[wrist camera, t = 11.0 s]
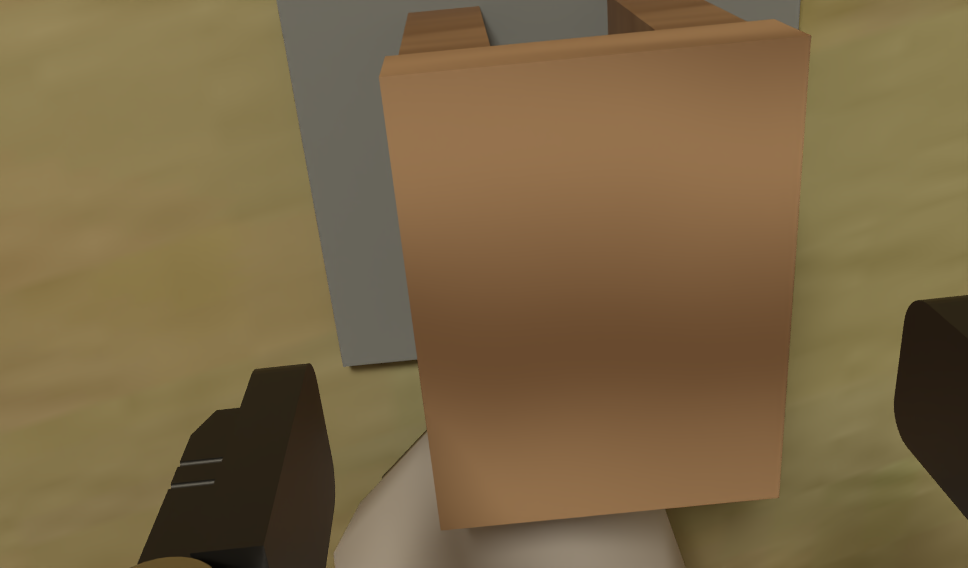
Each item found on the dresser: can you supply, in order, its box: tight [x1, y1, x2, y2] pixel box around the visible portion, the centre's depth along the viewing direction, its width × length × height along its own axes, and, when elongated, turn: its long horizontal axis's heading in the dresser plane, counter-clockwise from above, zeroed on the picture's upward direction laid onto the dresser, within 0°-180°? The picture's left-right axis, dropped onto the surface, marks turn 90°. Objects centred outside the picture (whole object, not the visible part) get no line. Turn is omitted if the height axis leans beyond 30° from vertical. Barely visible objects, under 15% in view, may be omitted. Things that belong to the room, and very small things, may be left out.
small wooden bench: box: [379, 0, 811, 531], centre depth 17 cm, size 8×6×7 cm
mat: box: [277, 0, 800, 367], centre depth 20 cm, size 11×9×1 cm
